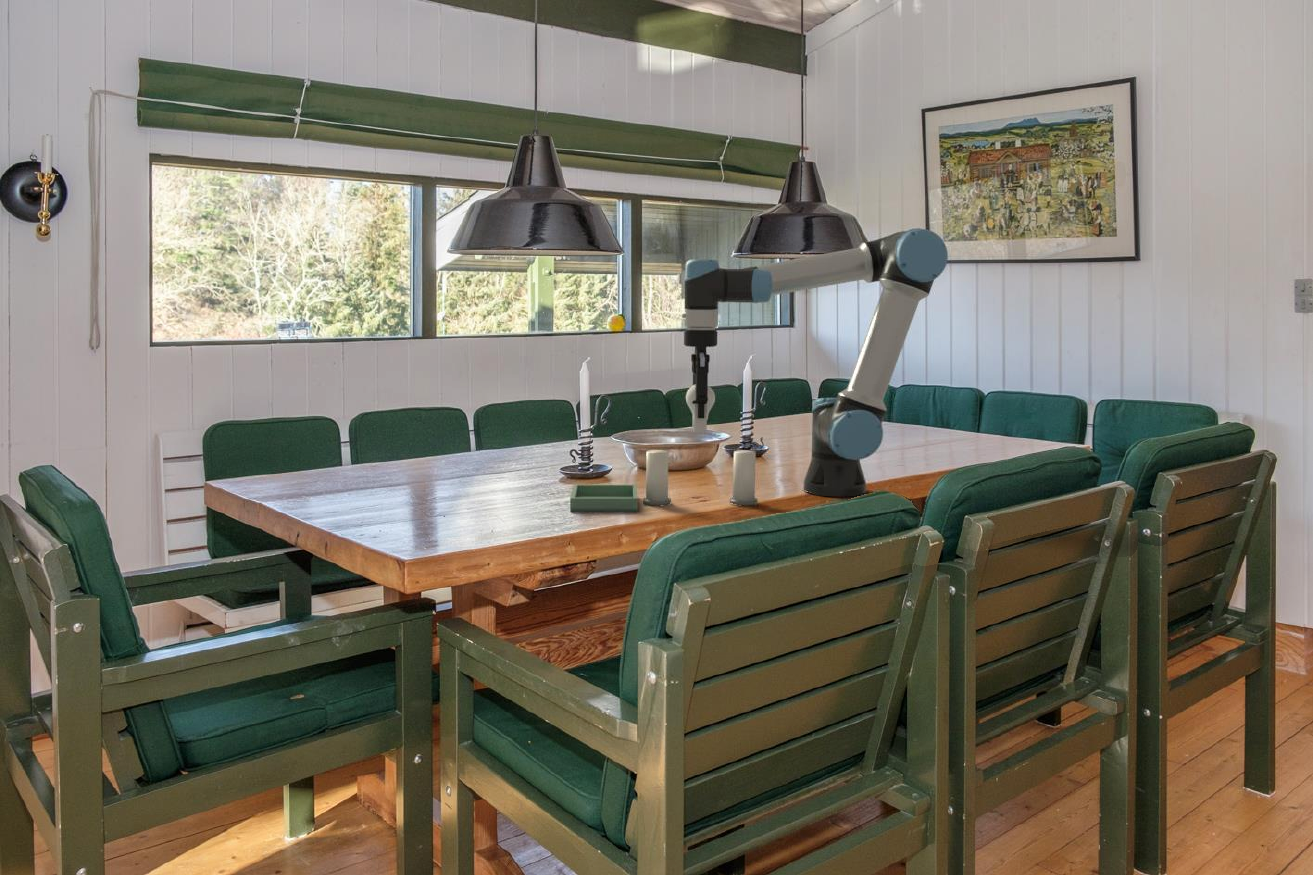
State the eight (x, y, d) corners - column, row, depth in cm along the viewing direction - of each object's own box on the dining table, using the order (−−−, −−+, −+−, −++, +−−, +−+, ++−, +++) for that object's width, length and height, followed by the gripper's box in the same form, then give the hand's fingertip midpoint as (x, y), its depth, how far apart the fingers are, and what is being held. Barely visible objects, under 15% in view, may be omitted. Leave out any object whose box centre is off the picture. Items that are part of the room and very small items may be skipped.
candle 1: (670, 500, 251) (670, 449, 250) (671, 506, 245) (671, 453, 243) (642, 500, 251) (643, 449, 249) (643, 506, 245) (643, 453, 243)
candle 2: (755, 500, 252) (756, 450, 250) (759, 506, 245) (760, 454, 244) (728, 500, 252) (729, 449, 250) (731, 506, 245) (732, 454, 244)
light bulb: (697, 429, 251) (697, 381, 249) (720, 431, 246) (721, 383, 245) (679, 431, 245) (680, 383, 244) (703, 434, 241) (703, 385, 240)
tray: (636, 497, 255) (636, 484, 255) (637, 511, 238) (637, 498, 238) (573, 497, 255) (573, 484, 254) (570, 511, 238) (570, 498, 238)
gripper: (681, 327, 252) (680, 425, 255) (686, 330, 233) (685, 436, 236) (713, 327, 252) (712, 425, 256) (721, 330, 233) (719, 436, 236)
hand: (699, 430), depth 246 cm, fingers closed on light bulb, 6 cm apart
